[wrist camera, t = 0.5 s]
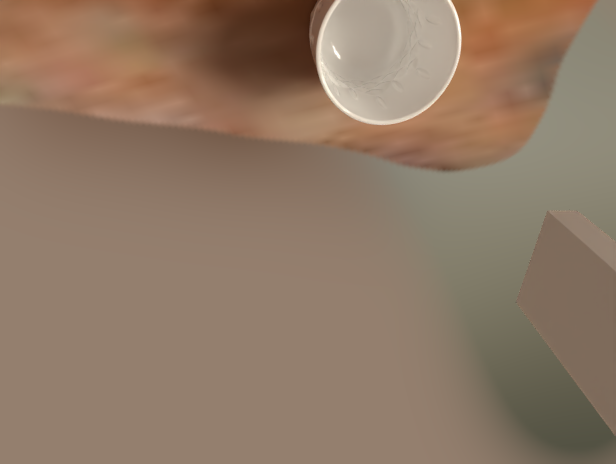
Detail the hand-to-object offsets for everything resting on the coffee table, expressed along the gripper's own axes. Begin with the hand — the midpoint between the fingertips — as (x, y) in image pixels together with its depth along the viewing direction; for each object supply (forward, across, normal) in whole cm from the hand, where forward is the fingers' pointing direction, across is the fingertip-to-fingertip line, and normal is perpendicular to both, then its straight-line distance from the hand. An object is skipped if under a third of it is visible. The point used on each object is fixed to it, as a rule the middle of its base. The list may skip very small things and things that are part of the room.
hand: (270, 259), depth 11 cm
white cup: (+27, +7, +2) cm, 28 cm away
